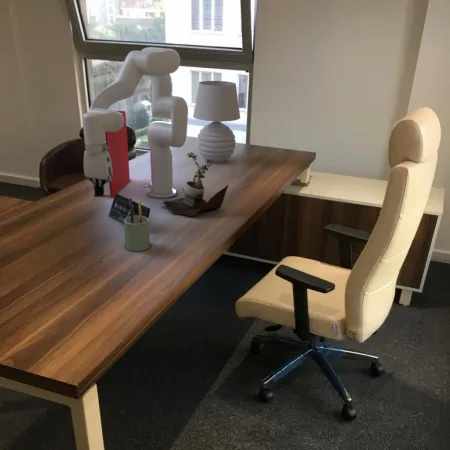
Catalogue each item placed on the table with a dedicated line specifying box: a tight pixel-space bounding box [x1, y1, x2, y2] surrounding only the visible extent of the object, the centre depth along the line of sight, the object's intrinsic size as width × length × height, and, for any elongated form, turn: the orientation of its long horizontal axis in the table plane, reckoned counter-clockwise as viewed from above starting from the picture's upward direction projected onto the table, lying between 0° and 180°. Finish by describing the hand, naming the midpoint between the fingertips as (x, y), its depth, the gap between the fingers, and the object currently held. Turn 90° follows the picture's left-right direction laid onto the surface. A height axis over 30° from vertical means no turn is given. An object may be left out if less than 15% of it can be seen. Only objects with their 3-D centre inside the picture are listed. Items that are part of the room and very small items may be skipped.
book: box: [93, 109, 131, 198], centre depth 233 cm, size 27×8×32 cm, turn 172°
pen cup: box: [123, 197, 151, 252], centre depth 179 cm, size 8×8×18 cm
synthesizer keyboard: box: [108, 193, 151, 224], centre depth 200 cm, size 22×10×10 cm
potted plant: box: [160, 151, 230, 217], centre depth 214 cm, size 20×19×25 cm
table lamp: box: [192, 80, 241, 163], centre depth 279 cm, size 25×25×40 cm
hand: (100, 195), depth 200 cm, fingers closed
